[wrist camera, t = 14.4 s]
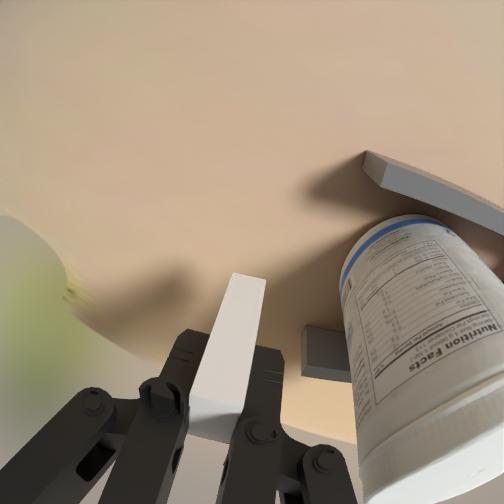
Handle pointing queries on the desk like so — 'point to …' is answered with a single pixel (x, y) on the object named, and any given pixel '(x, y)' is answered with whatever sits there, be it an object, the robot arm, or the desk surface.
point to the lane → (415, 186)
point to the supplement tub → (423, 362)
